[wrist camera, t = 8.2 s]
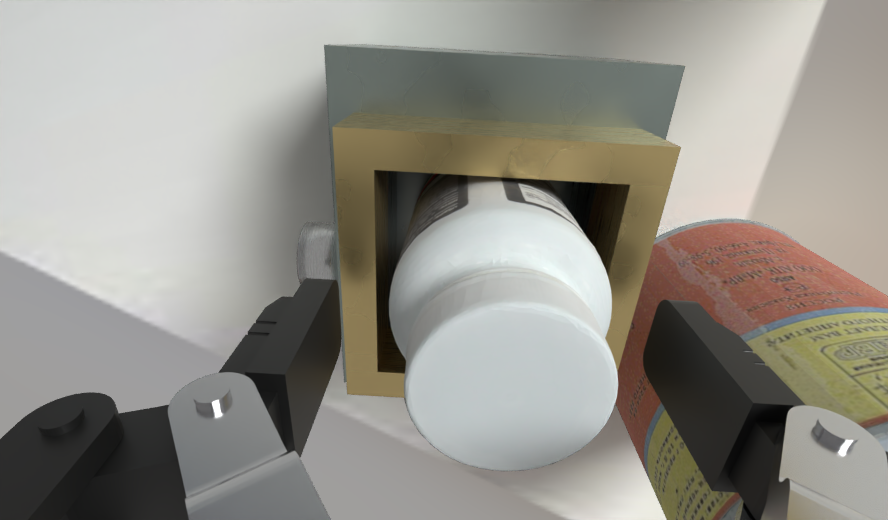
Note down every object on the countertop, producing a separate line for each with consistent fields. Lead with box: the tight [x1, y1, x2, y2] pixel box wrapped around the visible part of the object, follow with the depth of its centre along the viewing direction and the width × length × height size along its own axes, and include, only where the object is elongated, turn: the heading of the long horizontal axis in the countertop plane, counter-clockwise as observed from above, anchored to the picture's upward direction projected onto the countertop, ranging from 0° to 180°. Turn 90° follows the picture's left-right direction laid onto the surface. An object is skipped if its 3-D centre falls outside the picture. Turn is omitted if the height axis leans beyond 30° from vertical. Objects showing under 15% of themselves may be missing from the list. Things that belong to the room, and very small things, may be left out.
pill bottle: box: [389, 173, 618, 471], centre depth 13 cm, size 5×5×10 cm
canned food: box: [615, 219, 888, 520], centre depth 18 cm, size 11×11×12 cm
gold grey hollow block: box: [297, 44, 685, 398], centre depth 17 cm, size 12×12×8 cm
